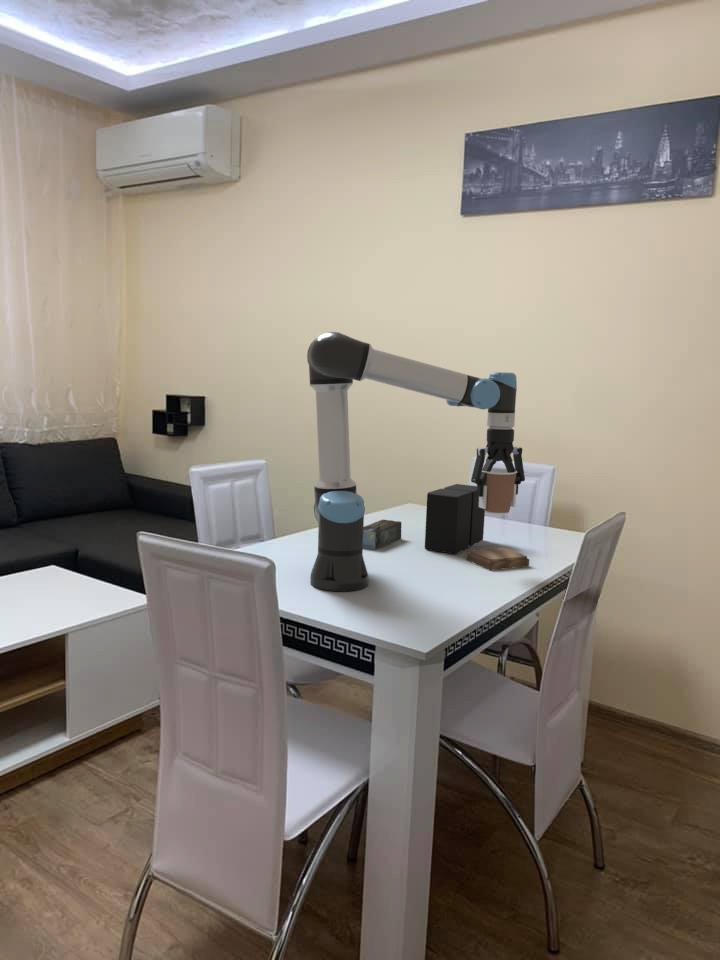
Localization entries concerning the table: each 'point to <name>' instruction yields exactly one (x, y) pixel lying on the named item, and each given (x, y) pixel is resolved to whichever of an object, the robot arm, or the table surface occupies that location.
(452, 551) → the speaker
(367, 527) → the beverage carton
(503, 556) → the stand
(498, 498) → the coffee cup
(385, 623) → the table surface
